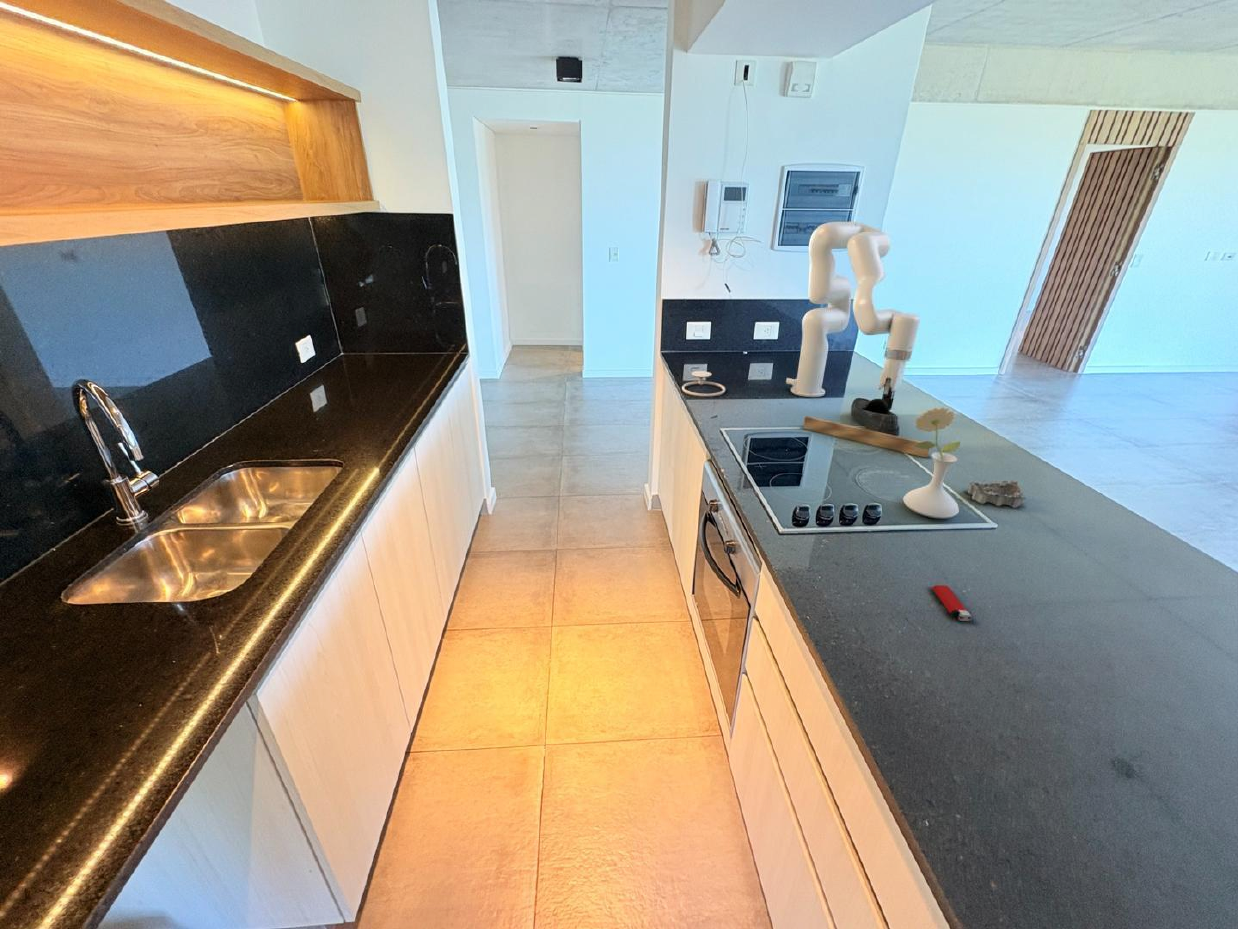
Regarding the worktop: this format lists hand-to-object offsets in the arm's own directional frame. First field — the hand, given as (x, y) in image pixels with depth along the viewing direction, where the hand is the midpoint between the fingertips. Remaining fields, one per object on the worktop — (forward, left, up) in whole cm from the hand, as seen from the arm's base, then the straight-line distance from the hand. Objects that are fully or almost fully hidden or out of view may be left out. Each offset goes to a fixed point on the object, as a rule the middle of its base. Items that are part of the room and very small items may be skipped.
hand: (885, 409), depth 175 cm
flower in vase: (+24, -56, -4) cm, 61 cm away
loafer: (-1, -9, -4) cm, 10 cm away
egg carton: (+36, -40, -4) cm, 54 cm away
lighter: (+35, -90, -4) cm, 97 cm away
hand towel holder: (-65, -7, -4) cm, 66 cm away
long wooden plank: (0, -23, -4) cm, 23 cm away
